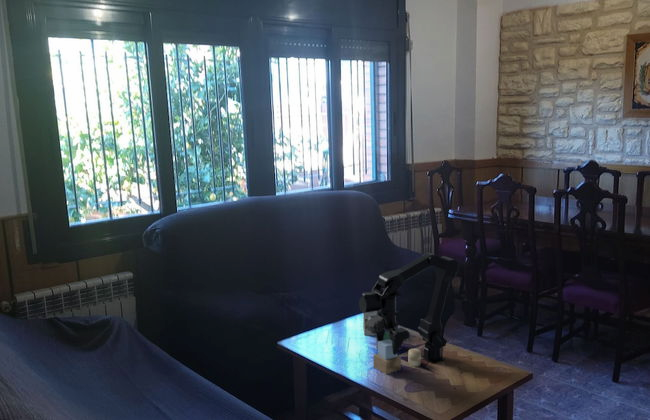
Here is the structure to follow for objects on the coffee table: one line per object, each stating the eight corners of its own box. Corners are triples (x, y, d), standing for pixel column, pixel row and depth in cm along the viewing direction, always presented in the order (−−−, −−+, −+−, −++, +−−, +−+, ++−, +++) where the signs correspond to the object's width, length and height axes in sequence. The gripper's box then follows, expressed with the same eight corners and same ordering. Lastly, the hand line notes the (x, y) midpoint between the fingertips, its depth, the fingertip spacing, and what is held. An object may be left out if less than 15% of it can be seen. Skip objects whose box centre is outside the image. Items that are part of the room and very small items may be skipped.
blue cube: (377, 354, 200) (377, 341, 200) (389, 351, 203) (389, 338, 202) (385, 359, 196) (385, 346, 195) (396, 356, 198) (397, 343, 198)
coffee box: (379, 335, 230) (379, 298, 227) (364, 335, 230) (364, 298, 227) (377, 327, 239) (378, 291, 236) (363, 327, 239) (363, 291, 236)
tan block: (388, 362, 205) (388, 350, 204) (400, 369, 199) (400, 356, 198) (373, 367, 201) (373, 354, 200) (385, 374, 195) (386, 361, 195)
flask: (377, 349, 216) (377, 323, 215) (374, 346, 219) (374, 320, 217) (398, 346, 219) (399, 320, 218) (395, 343, 222) (395, 318, 220)
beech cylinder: (415, 360, 207) (415, 347, 206) (423, 364, 203) (423, 352, 202) (405, 362, 205) (406, 350, 204) (413, 367, 201) (413, 354, 200)
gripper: (355, 304, 201) (354, 344, 203) (384, 321, 184) (383, 364, 187) (380, 299, 206) (379, 339, 209) (410, 315, 190) (409, 357, 192)
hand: (387, 349), depth 199 cm, fingers open, 9 cm apart
